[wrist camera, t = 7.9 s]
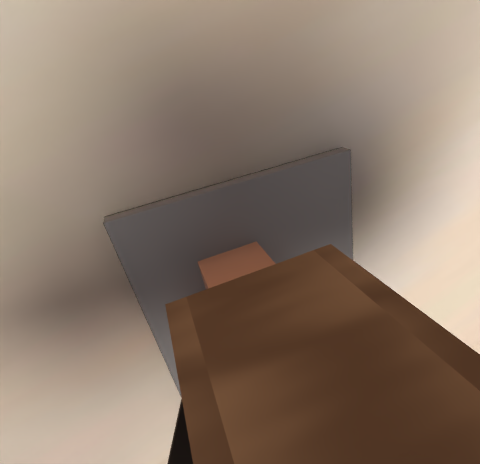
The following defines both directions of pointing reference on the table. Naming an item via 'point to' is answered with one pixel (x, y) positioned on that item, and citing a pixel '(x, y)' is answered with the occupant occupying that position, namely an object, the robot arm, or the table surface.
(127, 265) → the slate board
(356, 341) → the walnut sleeve
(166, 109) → the table surface
